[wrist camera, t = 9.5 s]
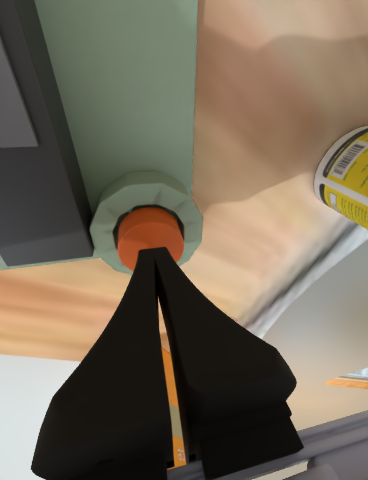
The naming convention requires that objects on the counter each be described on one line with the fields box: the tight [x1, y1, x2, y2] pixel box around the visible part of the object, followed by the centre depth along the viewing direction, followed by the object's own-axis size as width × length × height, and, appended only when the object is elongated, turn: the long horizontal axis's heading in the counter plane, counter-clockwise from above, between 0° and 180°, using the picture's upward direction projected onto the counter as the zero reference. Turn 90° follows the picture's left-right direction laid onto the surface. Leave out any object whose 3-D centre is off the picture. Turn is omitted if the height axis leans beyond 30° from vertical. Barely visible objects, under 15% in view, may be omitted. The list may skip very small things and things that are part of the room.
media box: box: [0, 0, 203, 275], centre depth 11 cm, size 16×14×4 cm
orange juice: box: [162, 348, 186, 470], centre depth 20 cm, size 8×9×20 cm
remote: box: [0, 0, 94, 267], centre depth 9 cm, size 13×4×3 cm, turn 179°
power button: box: [118, 207, 184, 271], centre depth 12 cm, size 4×4×2 cm
